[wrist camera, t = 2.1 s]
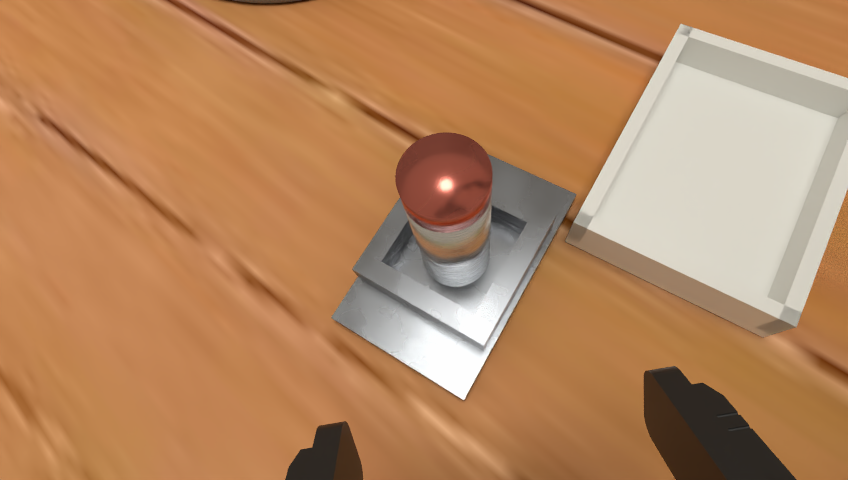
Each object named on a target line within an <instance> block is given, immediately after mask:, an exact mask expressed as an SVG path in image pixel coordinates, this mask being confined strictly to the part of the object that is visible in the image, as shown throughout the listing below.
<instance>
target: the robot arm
mask: <svg viewBox="0 0 848 480" xmlns="http://www.w3.org/2000/svg"><path fill="white" fill-rule="evenodd" d="M644 417H645V423H646V426H647V429H648V432H649V435H650V437H651V439H652V441H653V442H654V444H655V446H656V447H657V449H658V451H659V452H660V454H661V456H662V457H663V459H664V461H665V462H666V464H667V466H668V467H669V469H670V471H671V472H672V474H673V476H674V477H675V479H676V480H796V479H795V477H794V476H793V475H792V474H791V473H790V472H789V471H788V469H787V468H786V467H785V466H784V465H783V464H782V463H781V461H780V460H779V459H778V458H777V457H776V456H775V454H774V453H773V452H772V451H771V450H770V449H769V448H768V446H767V445H766V444H765V443H764V442H763V441H762V439H761V438H760V437H759V436H758V435H757V434H756V433H755V431H754V430H753V429H750V427H749V425H748V423H747V422H746V421H745V420H744V419H743V418H742V416H741V415H738V413H737V411H736V410H735V408H734V407H733V406H732V405H731V404H730V403H729V402H728V400H727V399H726V398H725V397H724V396H723V395H722V394H720V393H719V392H717V391H715V390H714V389H712V388H710V387H709V386H707V385H706V384H704V383H698V384H691V383H690V382H689V381H688V379H687V378H686V377H685V376H684V374H683V373H682V372H681V371H680V370H679V369H678V368H677V367H675V366H672V367H666V368H660V369H654V370H649V371H645V373H644ZM285 480H363V472H362V465H361V461H360V458H359V455H358V452H357V449H356V446H355V443H354V440H353V437H352V434H351V431H350V428H349V425H348V423H347V422H339V423H333V424H327V425H321V426H319V427H318V428H317V431H316V435H315V439H314V443H313V448H307V449H301V450H300V452H299V453H298V454H297V456H296V457H295V459H294V460H293V462H292V463H291V465H290V466H289V468H288V472H287V476H286V479H285Z"/></svg>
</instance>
